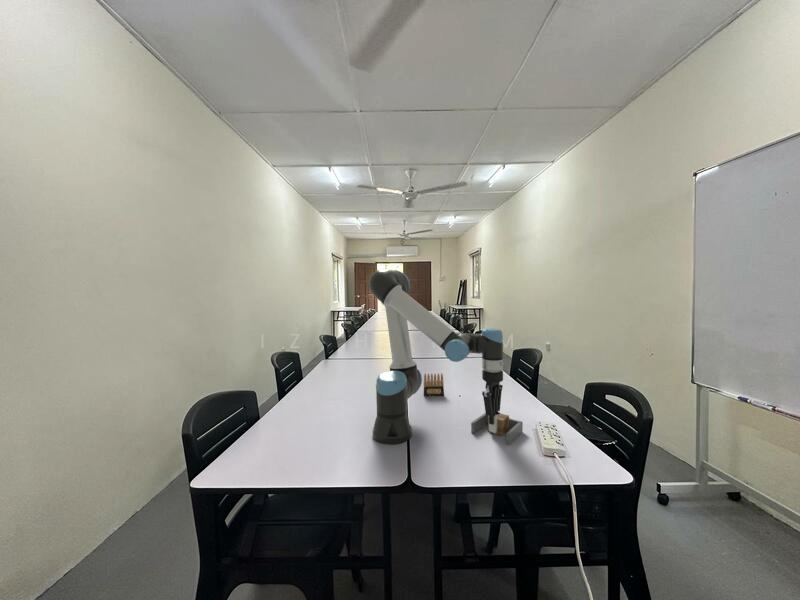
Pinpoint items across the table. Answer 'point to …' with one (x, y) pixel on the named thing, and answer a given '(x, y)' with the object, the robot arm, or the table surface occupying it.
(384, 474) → the table surface
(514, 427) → the corral
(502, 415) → the block
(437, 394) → the ammunition clip
